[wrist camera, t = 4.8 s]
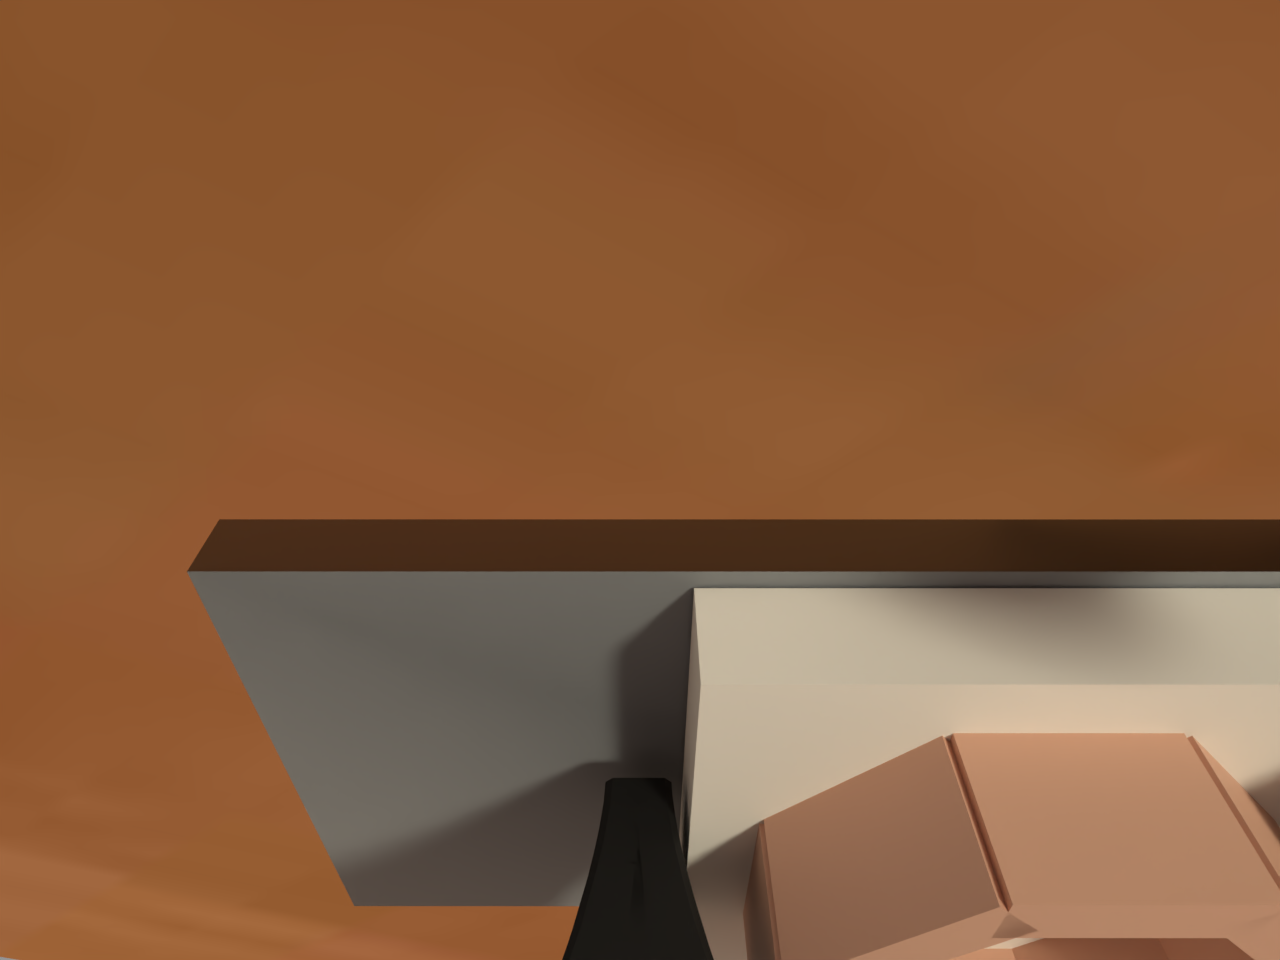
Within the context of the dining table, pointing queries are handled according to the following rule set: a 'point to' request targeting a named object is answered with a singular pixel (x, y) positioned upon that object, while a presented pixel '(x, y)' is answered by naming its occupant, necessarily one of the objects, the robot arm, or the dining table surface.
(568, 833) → the l-shaped bracket
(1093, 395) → the dining table surface
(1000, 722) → the square socket base
